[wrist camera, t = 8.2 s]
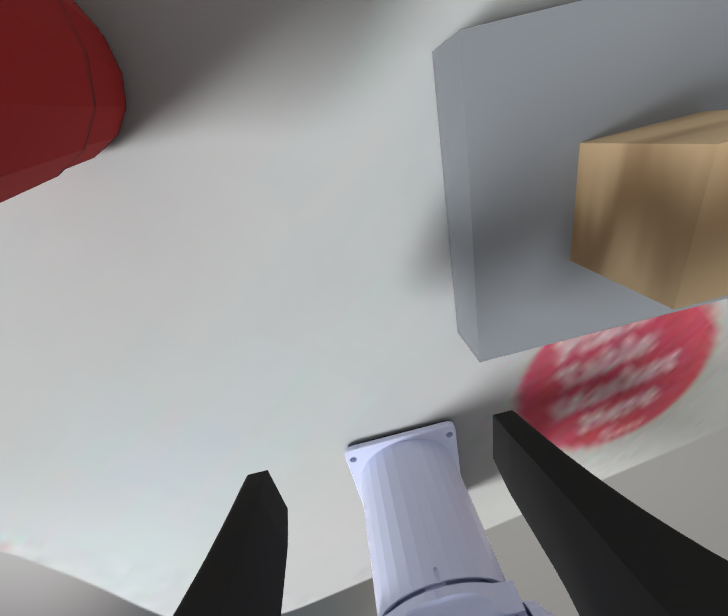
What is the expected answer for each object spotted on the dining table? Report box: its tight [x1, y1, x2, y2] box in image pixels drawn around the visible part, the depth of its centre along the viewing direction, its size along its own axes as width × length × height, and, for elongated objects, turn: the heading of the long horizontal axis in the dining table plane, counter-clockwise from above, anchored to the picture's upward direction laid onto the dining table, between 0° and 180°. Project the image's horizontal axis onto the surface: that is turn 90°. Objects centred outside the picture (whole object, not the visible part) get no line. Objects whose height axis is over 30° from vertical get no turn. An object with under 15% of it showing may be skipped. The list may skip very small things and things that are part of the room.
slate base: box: [432, 0, 728, 362], centre depth 15 cm, size 14×14×3 cm
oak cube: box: [570, 110, 728, 309], centre depth 12 cm, size 5×5×5 cm
